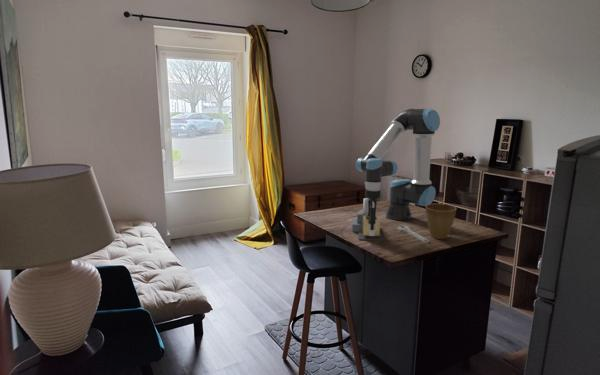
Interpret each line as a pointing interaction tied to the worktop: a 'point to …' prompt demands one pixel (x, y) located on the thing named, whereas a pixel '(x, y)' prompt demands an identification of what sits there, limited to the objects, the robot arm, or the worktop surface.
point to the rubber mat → (370, 237)
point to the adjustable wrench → (413, 233)
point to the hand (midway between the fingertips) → (370, 232)
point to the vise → (360, 217)
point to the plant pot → (440, 219)
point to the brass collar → (366, 225)
